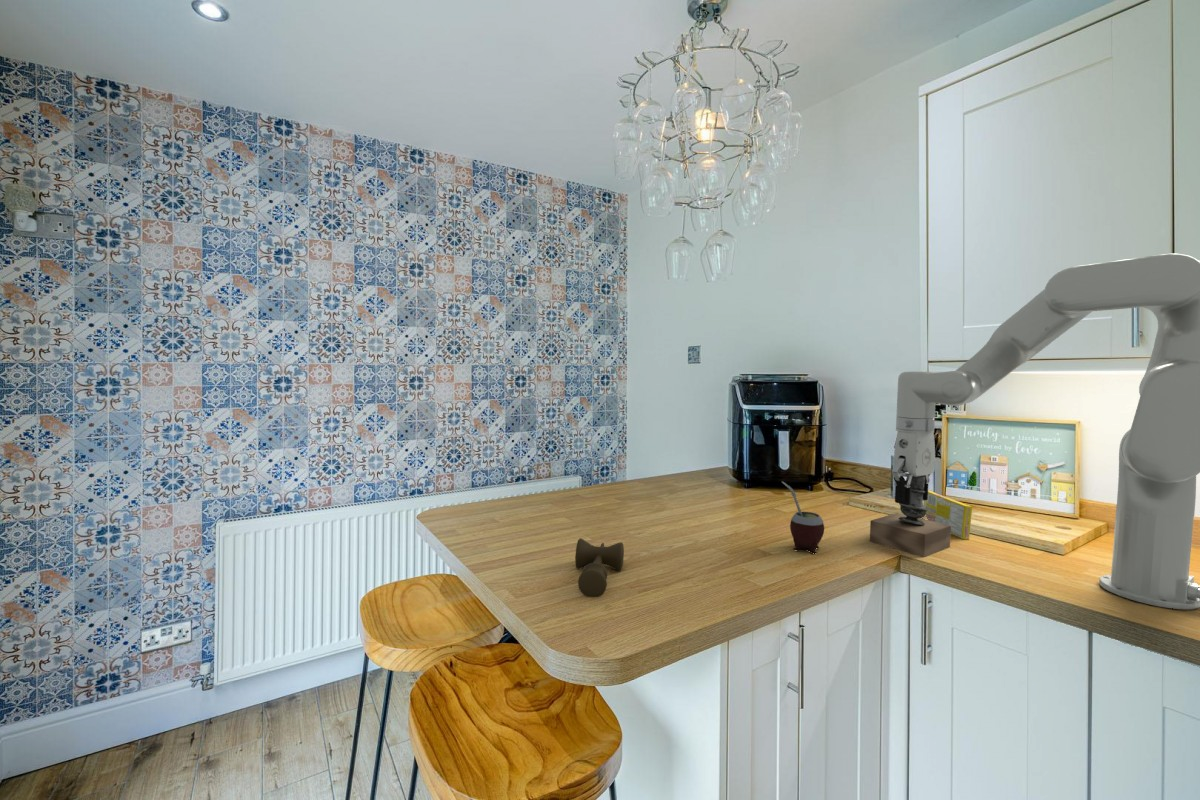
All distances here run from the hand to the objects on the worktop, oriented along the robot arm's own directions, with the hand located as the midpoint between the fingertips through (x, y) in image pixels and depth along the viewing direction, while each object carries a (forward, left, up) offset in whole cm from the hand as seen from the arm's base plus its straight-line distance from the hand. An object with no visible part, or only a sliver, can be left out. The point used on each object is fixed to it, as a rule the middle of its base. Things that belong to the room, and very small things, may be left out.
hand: (911, 500), depth 119 cm
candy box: (+1, -20, -11) cm, 23 cm away
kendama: (+24, +71, -11) cm, 76 cm away
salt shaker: (0, 0, -5) cm, 5 cm away
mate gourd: (+11, +24, -10) cm, 28 cm away
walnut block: (0, 0, -10) cm, 10 cm away
